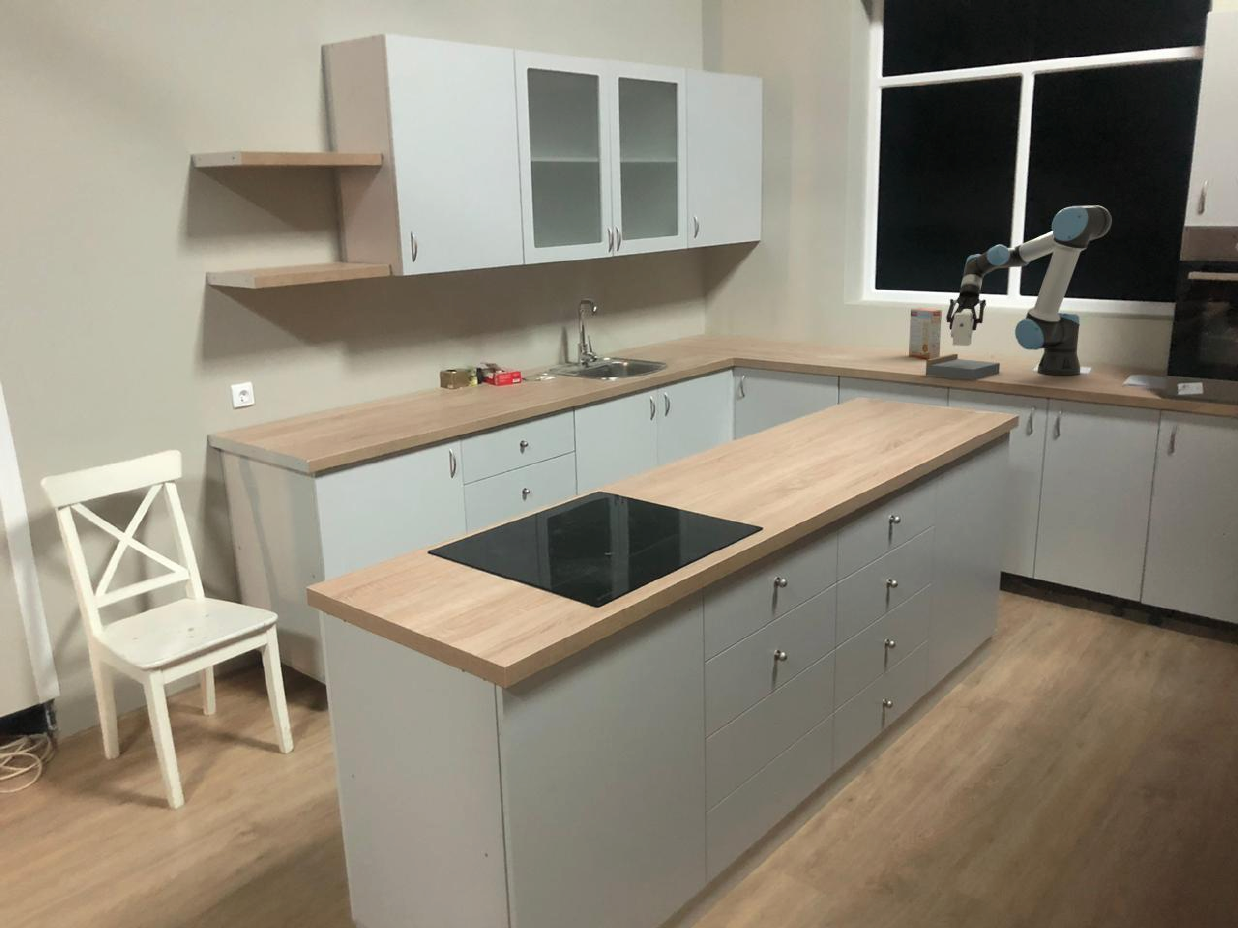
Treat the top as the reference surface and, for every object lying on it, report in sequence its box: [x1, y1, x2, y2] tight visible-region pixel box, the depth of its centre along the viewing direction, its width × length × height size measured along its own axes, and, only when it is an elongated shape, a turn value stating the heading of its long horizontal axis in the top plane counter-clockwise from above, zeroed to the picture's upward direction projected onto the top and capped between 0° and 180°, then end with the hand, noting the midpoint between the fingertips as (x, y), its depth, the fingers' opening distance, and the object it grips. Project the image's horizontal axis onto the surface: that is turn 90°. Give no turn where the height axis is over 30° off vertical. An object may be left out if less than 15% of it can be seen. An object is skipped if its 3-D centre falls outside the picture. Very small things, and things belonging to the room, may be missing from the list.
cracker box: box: [908, 307, 943, 360], centre depth 426 cm, size 14×6×21 cm, turn 22°
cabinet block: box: [952, 312, 973, 347], centre depth 380 cm, size 6×7×12 cm
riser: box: [925, 353, 1001, 381], centre depth 383 cm, size 20×20×6 cm
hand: (960, 335), depth 378 cm, fingers closed on cabinet block, 6 cm apart
